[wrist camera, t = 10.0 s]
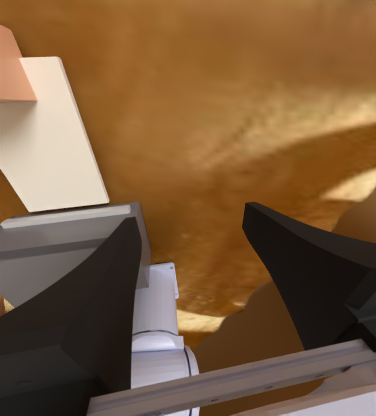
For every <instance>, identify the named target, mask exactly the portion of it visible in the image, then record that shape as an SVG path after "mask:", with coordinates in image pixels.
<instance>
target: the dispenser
mask: <svg viewBox="0 0 376 416" xmlns="http://www.w3.org/2000/svg"><path fill="white" fill-rule="evenodd" d="M128 217H136V220H137V224H138V228H139V232H140V235H141V239H142V255H141V261H140V267H139V273H138V279H137V284H136V289H142V288H148V287H149V275H150V258H151V247H150V243H149V239H148V235H147V231H146V226H145V222H144V218H143V214H142V210H141V205H140V202H132V203H124V204H115V205H107V206H98V207H90V208H81V209H73V210H64V211H55V212H47V213H38V214H30V215H21V216H13V217H11V218H10V219H6V220H5V221H3V222H2V223H1V224H0V225H1V226H0V295H1V296H2V297H4V298H5V299H6V300H7V301H8V302H9V303H10V304H11V305H13V306H14V307H15V308H16V307H18V306H19V305H21V304H23V303H24V302H26V301H28V300H29V299H31V298H33V297H34V296H36V295H37V294H39V293H40V292H42V291H43V290H45V289H46V288H48V287H49V286H51V285H52V284H54V283H55V282H57V281H58V280H59V279H61V278H62V277H63V276H65V275H66V274H67V273H69V272H70V271H71V270H73V269H74V268H75V267H77V266H78V265H79V264H80V263H82V262H83V261H84V260H85V259H86V258H87V257H89V256H90V255H91V254H92V253H93V252H94V251H95V250H96V249H97V248H98V247H99V246H100V245H101V244H102V243H103V242H104V241H105V240H106V239H107V238H108V237H109V236H110V235H111V234H112V233H113V231H114V230H115V229H116V228H117V227H118V226H119V225H120V223H121V222H122V221H123V220H124V219H125V218H128Z"/></svg>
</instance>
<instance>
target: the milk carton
mask: <svg viewBox="0 0 376 416" xmlns="http://www.w3.org/2000/svg"><path fill="white" fill-rule="evenodd" d="M4 314H6V313H5V306H4V299H3V297H2V296H1V295H0V317H1V316H2V315H4Z"/></svg>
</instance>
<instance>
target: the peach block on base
mask: <svg viewBox="0 0 376 416" xmlns="http://www.w3.org/2000/svg"><path fill="white" fill-rule="evenodd" d="M0 169H1V170H2V172H3V173H4V175H5V176H6V178H7V179H8V181H9V182H10V184H11V185H12V187H13V188H14V190H15V191H16V193H17V194H18V196H19V197H20V199H21V200H22V202H23V203H24V205H25V207H26V208H27V210H28V211H29V212H34V211H43V210H51V209H60V208H69V207H77V206H86V205H95V204H103V203H109V201H110V200H109V197H108V194H107V192H106V189H105V186H104V183H103V180H102V177H101V174H100V171H99V168H98V166H97V163H96V160H95V157H94V154H93V151H92V148H91V145H90V142H89V139H88V137H87V134H86V131H85V128H84V125H83V122H82V119H81V116H80V113H79V111H78V108H77V105H76V102H75V99H74V96H73V93H72V90H71V87H70V84H69V82H68V79H67V76H66V73H65V70H64V67H63V64H62V61H61V58H59V57H32V58H23V57H22V55H21V52H20V50H19V48H18V45H17V43H16V41H15V38H14V36H13V34H12V32H11V30H9V29H7V28H5V27H3V26H1V25H0Z"/></svg>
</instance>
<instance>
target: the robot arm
mask: <svg viewBox="0 0 376 416" xmlns="http://www.w3.org/2000/svg"><path fill="white" fill-rule="evenodd" d="M242 228H243V230H244V233H245V235H246V237H247V239H248V241H249V242H250V244H251V245H252V247H253V248H254V250H255V251H256V253H257V254H258V256H259V257H260V259H261V260H262V262H263V263H264V265H265V266H266V268H267V270H268V271H269V273H270V275H271V277H272V279H273V281H274V283H275V284H276V286H277V288H278V290H279V292H280V294H281V296H282V299H283V301H284V303H285V304H286V307H287V309H288V311H289V313H290V316H291V318H292V320H293V322H294V325H295V327H296V330H297V332H298V334H299V337H300V339H301V342H302V344H303V347H304V349H305V351H303V352H298V353H294V354H289V355H285V356H280V357H275V358H271V359H266V360H262V361H257V362H253V363H248V364H243V365H239V366H234V367H230V368H225V369H220V370H216V371H212V372H207V373H203V374H199V371H198V366H197V362H196V358H195V356H194V354H193V352H192V351H191V349H190V348H189V347H188V346H186V345H185V346H184V343H183V336H178V324H177V312H176V300H175V299H177V298H179V294H178V287H177V280H176V274H175V267H174V263H173V262H169V263H162V264H156V265H150V275H149V287H148V288H142V289H136V284H137V279H138V273H139V267H140V261H141V255H142V239H141V235H140V232H139V228H138V224H137V220H136V217H128V218H125V219H124V220H123V221H122V222H121V223H120V225H119V226H118V227H117V228H116V229H115V230H114V231H113V233H112V234H111V235H110V236H109V237H108V238H107V239H106V240H105V241H104V242H103V243H102V244H101V245H100V246H99V247H98V248H97V249H96V250H95V251H94V252H93V253H92V254H91V255H90V256H89V257H87V258H86V259H85V260H84V261H83V262H82V263H80V264H79V265H78V266H77V267H75V268H74V269H73V270H71V271H70V272H69V273H67V274H66V275H65V276H63V277H62V278H61V279H59V280H58V281H57V282H55V283H54V284H52V285H51V286H49V287H48V288H46V289H45V290H43V291H42V292H40V293H39V294H37V295H36V296H34V297H33V298H31V299H29V300H28V301H26V302H24V303H23V304H21V305H19V306H18V307H16V308H14V309H13V310H11V311H9V312H7V313H6V314H4V315H2V316H1V317H0V416H199V408H200V407H202V406H205V405H210V404H214V403H218V402H222V401H226V400H231V399H235V398H239V397H244V396H248V395H252V394H256V393H260V392H265V391H269V390H273V389H277V388H281V387H286V386H290V385H294V384H298V383H302V382H307V381H311V380H315V379H319V378H324V377H328V376H332V375H335V376H333V377H330V378H327V379H325V380H324V382H323V384H322V385H321V386H320V387H319V388H317V389H316V390H314V391H313V392H311V393H309V394H308V395H307V396H304V397H299V398H295V399H291V400H287V401H283V402H279V403H275V404H270V405H267V406H263V407H259V408H256V409H252V410H249V411H245V412H241V413H238V414H234V415H231V416H376V243H371V242H366V241H362V240H357V239H353V238H349V237H346V236H342V235H338V234H334V233H331V232H328V231H325V230H322V229H319V228H316V227H313V226H310V225H307V224H304V223H302V222H300V221H297V220H295V219H292V218H290V217H288V216H285V215H283V214H281V213H279V212H277V211H274V210H272V209H270V208H268V207H266V206H264V205H262V204H259V203H257V202H248V203H246V204H245V211H244V218H243V224H242ZM336 374H338V375H336Z"/></svg>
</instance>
